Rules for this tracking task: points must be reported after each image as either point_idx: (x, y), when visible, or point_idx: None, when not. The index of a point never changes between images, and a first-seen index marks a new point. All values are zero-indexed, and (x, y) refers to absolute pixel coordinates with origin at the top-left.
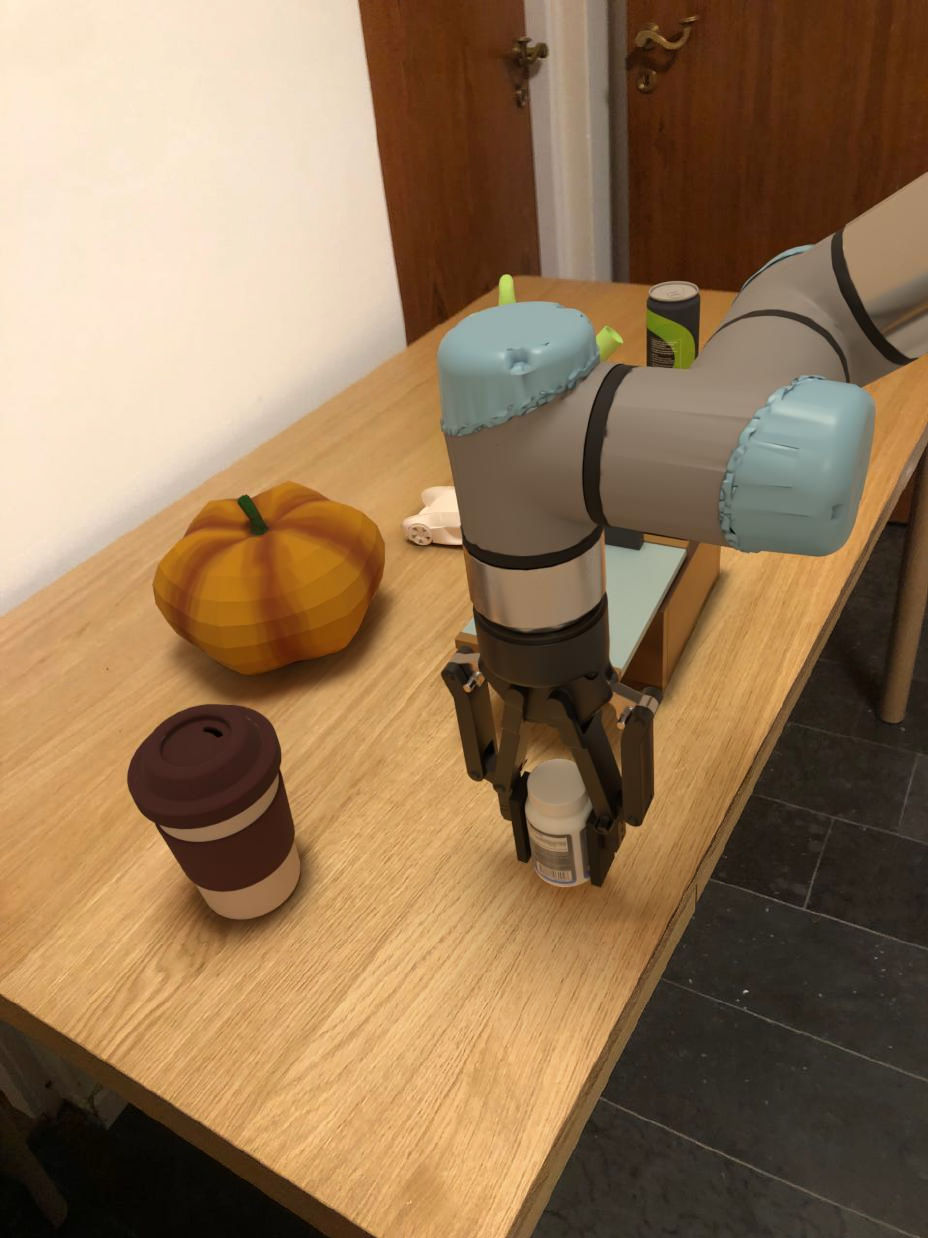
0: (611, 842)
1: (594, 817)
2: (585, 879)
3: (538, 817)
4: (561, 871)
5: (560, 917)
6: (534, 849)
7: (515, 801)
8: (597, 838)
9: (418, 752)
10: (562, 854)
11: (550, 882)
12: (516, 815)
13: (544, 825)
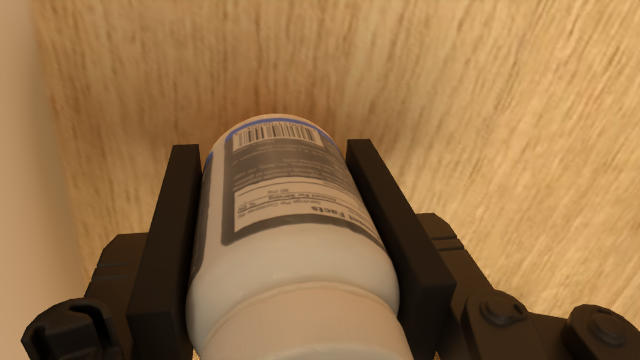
0: (122, 260)
1: (152, 334)
2: (212, 150)
3: (340, 264)
4: (254, 142)
5: (245, 62)
6: (333, 168)
7: (432, 285)
8: (141, 263)
9: (580, 258)
10: (249, 179)
11: (282, 116)
12: (410, 238)
13: (310, 247)
